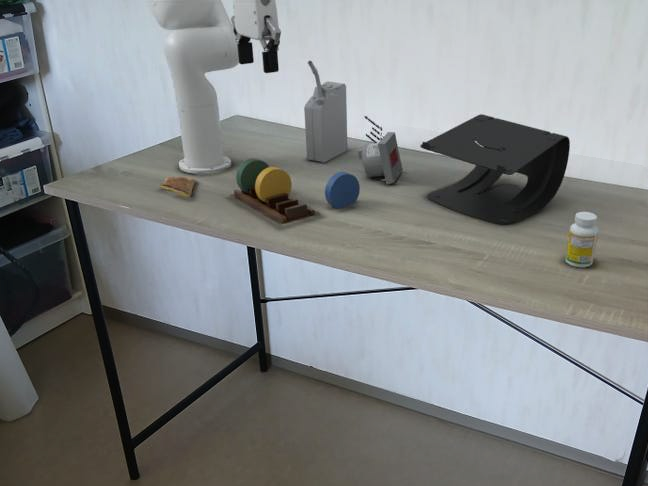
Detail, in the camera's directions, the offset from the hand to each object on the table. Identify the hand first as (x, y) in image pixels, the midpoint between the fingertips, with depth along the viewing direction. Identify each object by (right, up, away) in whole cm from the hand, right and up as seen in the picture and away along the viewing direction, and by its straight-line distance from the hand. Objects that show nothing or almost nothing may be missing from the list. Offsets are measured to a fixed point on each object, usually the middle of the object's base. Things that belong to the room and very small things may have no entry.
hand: (258, 67), depth 153 cm
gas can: (+9, -7, +42) cm, 43 cm away
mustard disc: (+1, -26, +11) cm, 28 cm away
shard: (-21, -21, +19) cm, 35 cm away
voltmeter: (+23, -12, +35) cm, 44 cm away
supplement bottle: (+64, -41, -8) cm, 76 cm away
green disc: (-4, -22, +16) cm, 28 cm away
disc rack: (+1, -26, +11) cm, 29 cm away
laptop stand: (+50, -23, +19) cm, 58 cm away
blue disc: (+17, -26, +13) cm, 33 cm away
